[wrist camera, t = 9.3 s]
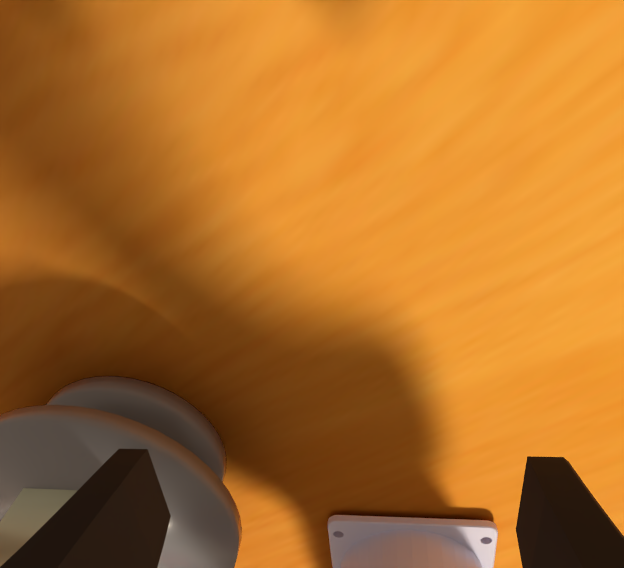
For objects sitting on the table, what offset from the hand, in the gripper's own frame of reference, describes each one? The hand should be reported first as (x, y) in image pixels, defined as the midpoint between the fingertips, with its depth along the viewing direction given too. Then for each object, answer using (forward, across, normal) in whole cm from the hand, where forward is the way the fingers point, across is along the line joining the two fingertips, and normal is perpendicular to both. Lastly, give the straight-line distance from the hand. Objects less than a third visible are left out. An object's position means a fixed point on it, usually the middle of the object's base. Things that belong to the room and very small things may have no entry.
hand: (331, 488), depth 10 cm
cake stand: (+10, +11, +10) cm, 18 cm away
